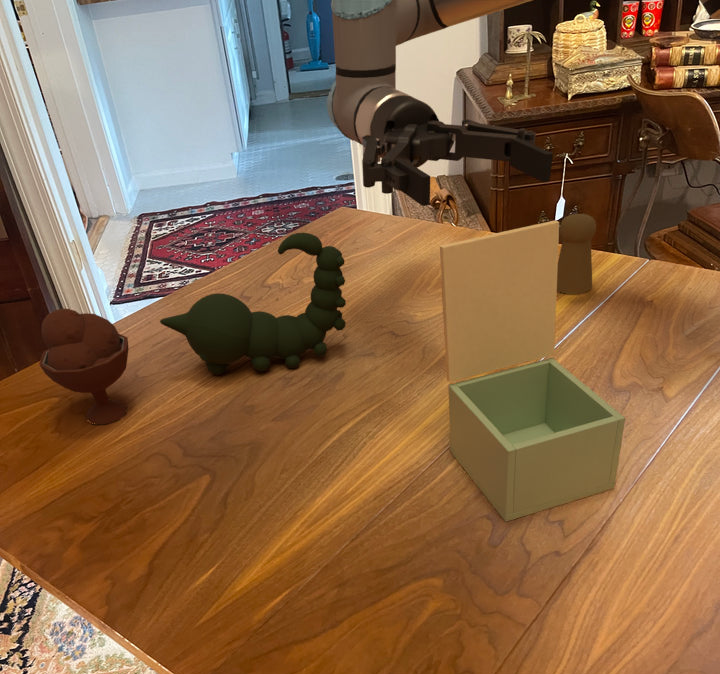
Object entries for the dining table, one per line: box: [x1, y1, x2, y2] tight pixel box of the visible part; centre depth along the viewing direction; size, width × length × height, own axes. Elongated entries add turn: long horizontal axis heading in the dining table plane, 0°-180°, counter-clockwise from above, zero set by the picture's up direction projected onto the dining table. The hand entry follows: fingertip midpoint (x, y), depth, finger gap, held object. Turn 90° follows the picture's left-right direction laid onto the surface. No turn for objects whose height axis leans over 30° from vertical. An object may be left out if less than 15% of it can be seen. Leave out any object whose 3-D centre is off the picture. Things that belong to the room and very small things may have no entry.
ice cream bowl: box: [38, 308, 130, 425], centre depth 93 cm, size 11×11×15 cm
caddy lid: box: [439, 220, 560, 383], centre depth 76 cm, size 14×13×1 cm
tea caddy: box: [448, 357, 626, 522], centre depth 78 cm, size 14×13×9 cm
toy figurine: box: [159, 232, 347, 376], centre depth 99 cm, size 9×19×25 cm
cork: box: [557, 213, 597, 295], centre depth 112 cm, size 6×6×11 cm
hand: (489, 179), depth 72 cm, fingers open, 13 cm apart
